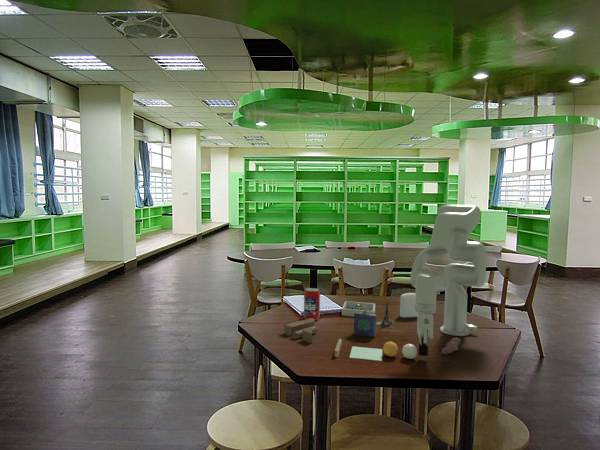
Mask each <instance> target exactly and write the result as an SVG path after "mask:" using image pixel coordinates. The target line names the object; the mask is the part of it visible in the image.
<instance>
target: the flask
mask: <svg viewBox="0 0 600 450" xmlns="http://www.w3.org/2000/svg"><path fill="white" fill-rule="evenodd" d="M363 310H364V312H361V313H360V311H359V312H355V314H354V317H353V318H354V320H353V335H355V336H361V337H368V338H375V337H376V336H377V328H376V327H377V325H376V322H377V318H378V317H377V314H376V313H375V314H367V311H368V310H365V309H363Z"/></svg>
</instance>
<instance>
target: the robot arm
mask: <svg viewBox="0 0 600 450" xmlns="http://www.w3.org/2000/svg"><path fill="white" fill-rule="evenodd" d="M481 218H482V211H481V209H480V207H479V206H477V205H473V204H442V205H440V206H439V207H438V209H437V216H435V220H434V224H433V225H434V226H433V228H432V233H431V238H430V242H429V245H428V246H427V247H426V248H424V249H423V250H422V251H421V252H420V253H419V254H418V255H417V256H416V257H415V259H414V261H413V264H412V267H411V273H410V280H409V281H410V285H411V286H412V287H413V288H415V290H414V291H415V292H414V293H415V311H417V312H418V317H416V318H417V319H416V320H417V321H416V324H417V325H416V326H417V327H416V328H417V329H416V330H417V336H418V338H419V341H418V342H419V343H418V356H419V357H428V356H429V340H431V341H433V340H434V314H435V313H436V309H437V293H441V292H444V313H443V315H444V316H443V317H444V318H443V325H442V326H440V327H439V331H440V332H442V333H443V334H446V335H450V336H455V337H467V336H469V335H470V331H476V332H477V331H478V326H477V325H474V324H468V323H467V316H468V315H467V313H468V312H467V311H468V293H467V290H466V289H465V287H463V286H466V287H472V288H483V286H484V285H485V284H486V278H487V271H486V270H487V250H486V246H485V244H483V243H482V242H480V241H474V240H473V241H472V240H471V241H470V240H468V239H469V238H468V235H469V234H470V233H472V232H473V231H474V230H475V228H476V227H477V226H478V224H479V223H480V220H481ZM445 255H447V257H448V259H449V260H450V261H453V263H452V262H451V263H449V264H446V265H445V266H444V269H443V272H442V271H434V270H427V269H423V268H424V265H425V264H427V262H429V261H430V260H432V259H435V258H438V257H442V256H445ZM457 262H460V263H457ZM466 263H468V264H466ZM469 263H470V264H469Z"/></svg>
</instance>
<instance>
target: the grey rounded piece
mask: <svg viewBox="0 0 600 450" xmlns="http://www.w3.org/2000/svg"><path fill="white" fill-rule="evenodd" d="M356 310H363V309H362V305H361V304H356Z"/></svg>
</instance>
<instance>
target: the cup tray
mask: <svg viewBox="0 0 600 450" xmlns="http://www.w3.org/2000/svg"><path fill="white" fill-rule="evenodd" d="M356 304H361V305H362V309H361V310H356ZM352 308H353V309H352ZM364 310H368V311H367V314H375V315H376V303H372V302H359V301H347V300H346V301H344V303H343V306H342V308H341V316H343V317H345V316H346V317H353V318H354V314H355V312H359V311H360V313H361V312H364Z"/></svg>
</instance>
